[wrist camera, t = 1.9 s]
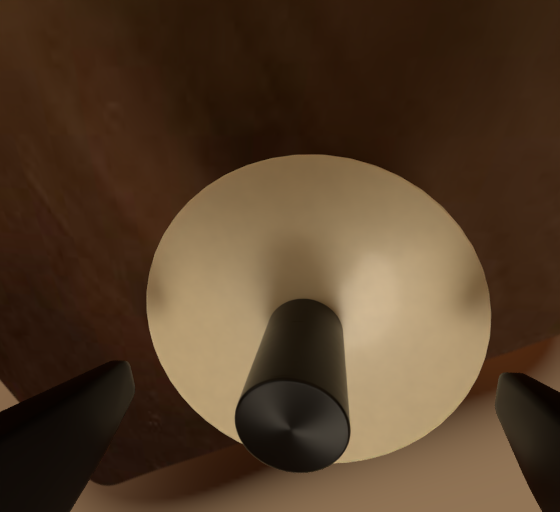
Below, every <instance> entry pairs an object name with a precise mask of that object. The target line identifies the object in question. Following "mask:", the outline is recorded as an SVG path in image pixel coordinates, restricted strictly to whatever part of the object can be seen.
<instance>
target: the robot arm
mask: <svg viewBox="0 0 560 512" xmlns="http://www.w3.org/2000/svg"><path fill="white" fill-rule="evenodd" d="M134 393H135V384H134V380H133V376H132V372H131V367H130V364H129V363H128V362H127V361H110V362H108V363H105V364H103V365H101V366H99V367H97V368H94V369H92V370H90V371H88V372H86V373H84V374H81V375H79V376H77V377H75V378H73V379H71V380H68V381H66V382H64V383H62V384H60V385H58V386H55V387H53V388H51V389H49V390H47V391H45V392H42V393H40V394H38V395H36V396H34V397H32V398H29V399H27V400H25V401H23V402H21V403H19V404H16V405H14V406H12V407H10V408H8V409H5V410H3V411H1V412H0V512H70V511H71V509H72V507H73V506H74V504H75V503H76V501H77V499H78V498H79V496H80V494H81V493H82V491H83V489H84V488H85V486H86V485H87V483H88V481H89V480H90V478H91V476H92V475H93V473H94V471H95V470H96V468H97V466H98V465H99V463H100V461H101V460H102V458H103V456H104V454H105V452H106V451H107V449H108V447H109V445H110V443H111V441H112V439H113V437H114V435H115V433H116V431H117V429H118V427H119V425H120V423H121V421H122V419H123V417H124V415H125V413H126V411H127V409H128V407H129V405H130V403H131V401H132V399H133V396H134ZM495 409H496V413H497V416H498V418H499V420H500V422H501V425H502V427H503V430H504V432H505V434H506V436H507V439H508V441H509V443H510V446H511V448H512V450H513V452H514V455H515V457H516V459H517V461H518V464H519V466H520V468H521V470H522V473H523V475H524V477H525V479H526V481H527V484H528V486H529V488H530V490H531V492H532V494H533V496H534V497H535V499H536V501H537V503H538V505H539V507H540V508H541V510H542V512H560V392H558V391H556V390H554V389H552V388H550V387H548V386H546V385H544V384H543V383H541V382H539V381H537V380H535V379H533V378H531V377H529V376H527V375H525V374H523V373H502V374H501V375H500V377H499V380H498V386H497V393H496V399H495Z"/></svg>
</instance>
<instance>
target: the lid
mask: <svg viewBox="0 0 560 512" xmlns="http://www.w3.org/2000/svg"><path fill="white" fill-rule="evenodd" d="M147 315H148V323H149V330H150V333H151V337H152V341H153V344H154V348H155V350H156V353H157V355H158V358H159V360H160V362H161V365H162V366H163V368H164V370H165V372H166V374H167V375H168V377H169V379H170V381H171V382H172V383H173V385H174V386H175V388H176V389H177V390H178V392H179V393H180V395H181V396H182V397H183V398H184V399H185V400H186V401H187V402H188V404H189V405H190V406H191V407H192V408H193V409H194V410H195V411H196V412H197V413H198V414H200V415H201V416H202V417H203V418H204V419H205V420H206V421H207V422H209V423H210V424H211V425H213V426H214V427H216V428H217V429H218V430H220V431H221V432H223V433H224V434H226V435H228V436H229V437H231V438H233V439H235V440H236V441H238V442H240V443H242V444H243V445H244V446H245V448H246V449H247V450H248V451H249V452H250V453H251V454H252V455H253V456H254V457H256V458H257V459H258V460H260V461H261V462H263V463H265V464H266V465H269V466H271V467H273V468H276V469H279V470H282V471H286V472H293V473H308V472H314V471H318V470H321V469H324V468H326V467H328V466H330V465H331V464H333V463H346V462H354V461H360V460H366V459H371V458H374V457H378V456H382V455H385V454H388V453H391V452H393V451H395V450H398V449H401V448H403V447H405V446H407V445H409V444H411V443H413V442H415V441H416V440H418V439H420V438H422V437H424V436H425V435H426V434H427V433H429V432H430V431H432V430H433V429H435V428H436V427H437V426H439V425H440V424H441V423H442V422H443V421H444V420H445V419H446V418H447V417H448V416H449V415H450V414H452V413H453V412H454V411H455V409H456V408H457V407H458V406H459V404H460V403H461V402H462V401H463V399H464V398H465V397H466V396H467V394H468V392H469V391H470V389H471V387H472V385H473V384H474V382H475V380H476V379H477V377H478V374H479V372H480V369H481V367H482V364H483V362H484V359H485V356H486V352H487V347H488V343H489V338H490V326H491V307H490V297H489V290H488V286H487V282H486V279H485V275H484V271H483V268H482V266H481V263H480V261H479V259H478V257H477V255H476V252H475V250H474V248H473V246H472V244H471V243H470V241H469V240H468V238H467V237H466V235H465V234H464V232H463V231H462V229H461V227H460V226H459V225H458V224H457V223H456V221H455V220H454V219H453V218H452V217H451V216H450V215H449V214H448V212H447V211H446V210H445V209H444V208H443V207H442V206H441V205H440V204H438V203H437V202H436V201H435V200H434V199H432V198H431V197H430V196H429V195H428V194H427V193H425V192H424V191H423V190H421V189H420V188H418V187H417V186H415V185H413V184H412V183H410V182H408V181H407V180H405V179H404V178H402V177H400V176H398V175H396V174H394V173H391V172H389V171H387V170H385V169H382V168H380V167H378V166H375V165H372V164H368V163H365V162H361V161H358V160H354V159H350V158H344V157H337V156H330V155H290V156H283V157H276V158H270V159H267V160H263V161H260V162H256V163H253V164H249V165H246V166H244V167H242V168H239V169H237V170H235V171H233V172H230V173H228V174H226V175H224V176H223V177H221V178H219V179H218V180H216V181H215V182H213V183H211V184H210V185H208V186H207V187H205V188H204V189H203V190H202V191H201V192H199V193H198V194H197V195H196V196H195V197H193V198H192V199H191V200H190V201H189V202H188V203H187V204H186V205H185V206H184V208H183V209H182V210H181V211H180V212H179V213H178V214H177V216H176V217H175V218H174V219H173V221H172V223H171V224H170V226H169V227H168V229H167V230H166V232H165V233H164V235H163V237H162V239H161V241H160V244H159V246H158V248H157V250H156V252H155V255H154V259H153V262H152V266H151V269H150V273H149V280H148V287H147Z"/></svg>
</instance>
